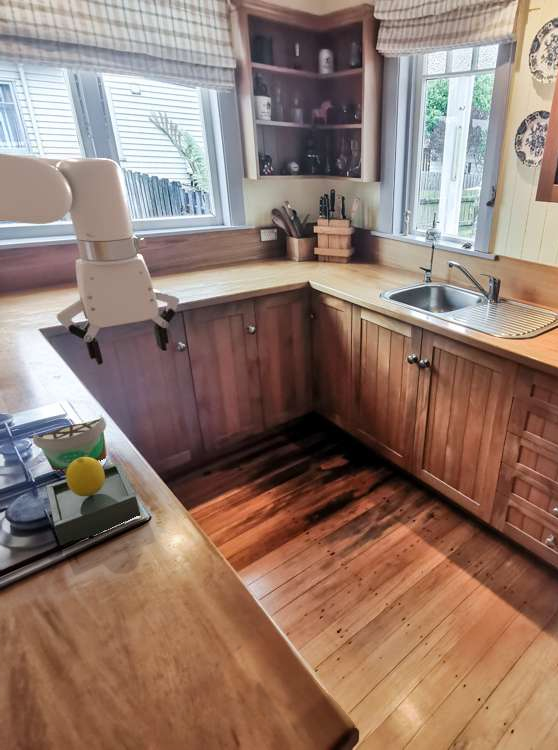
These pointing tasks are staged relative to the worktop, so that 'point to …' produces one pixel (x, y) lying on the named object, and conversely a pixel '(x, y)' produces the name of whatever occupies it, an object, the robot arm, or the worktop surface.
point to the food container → (73, 443)
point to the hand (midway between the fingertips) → (131, 354)
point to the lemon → (85, 476)
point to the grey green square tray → (92, 506)
